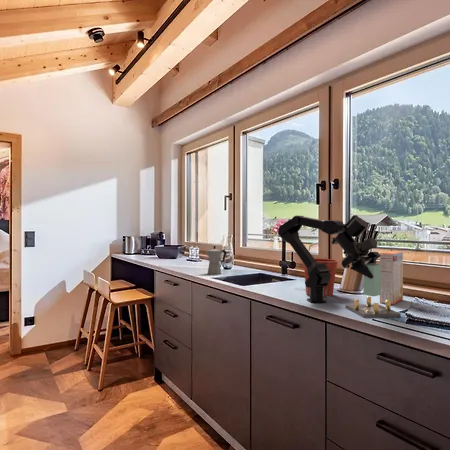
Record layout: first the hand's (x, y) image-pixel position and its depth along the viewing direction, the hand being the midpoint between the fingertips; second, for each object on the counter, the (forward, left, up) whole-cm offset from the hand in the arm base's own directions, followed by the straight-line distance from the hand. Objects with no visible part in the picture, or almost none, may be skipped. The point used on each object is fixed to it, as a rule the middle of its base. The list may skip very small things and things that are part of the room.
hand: (376, 277), depth 135 cm
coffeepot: (-112, -49, -13) cm, 123 cm away
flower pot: (-37, -7, -13) cm, 40 cm away
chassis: (-2, -1, -13) cm, 13 cm away
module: (-1, -1, -7) cm, 7 cm away
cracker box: (-20, +18, -13) cm, 30 cm away
